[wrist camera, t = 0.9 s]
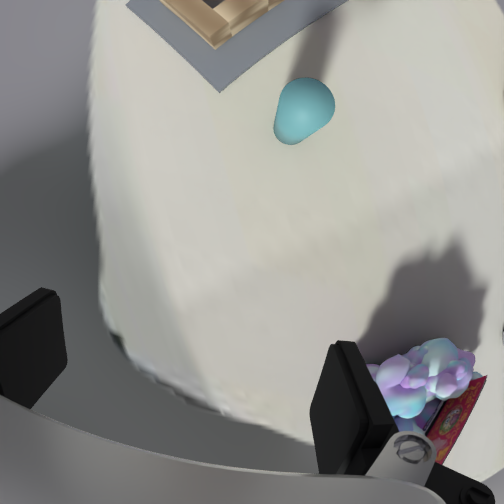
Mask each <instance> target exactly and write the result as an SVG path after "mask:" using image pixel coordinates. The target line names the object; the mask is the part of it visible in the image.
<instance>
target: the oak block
mask: <svg viewBox="0 0 504 504" xmlns="http://www.w3.org/2000/svg"><path fill="white" fill-rule="evenodd" d="M283 1H284V0H225V1H223V2H222V3H220V4H219V5H218V6H216V7H215V8H213V9H212V8H211V7H210V6H208V5H207V4H206V3H205V2H203V1H202V0H160V2H161V3H162V4H163V5H164V6H166V7H167V8H168V9H169V10H171V11H172V12H173V13H174V14H175V15H177V16H178V17H179V18H180V19H181V20H182V21H184V22H185V23H186V24H187V25H188V26H189V27H190V28H192V29H193V30H194V31H195V32H196V33H197V34H198V35H200V36H201V37H202V38H203V39H204V40H205V41H206V42H207V43H208V44H209V45H211V46H212V47H213V48H214V49H215V50H216V49H217V48H219V47H220V46H221V45H222V44H224V43H225V42H226V41H227V40H229V39H230V38H231V37H233V36H234V35H235V34H237V33H238V32H239V31H241V30H242V29H243V28H245V27H246V26H248V25H249V24H250V23H252V22H253V21H255V20H256V19H257V18H259V17H260V16H262V15H263V14H265V13H266V12H268V11H269V10H271V9H272V8H274V7H275V6H277V5H278V4H280V3H281V2H283Z"/></svg>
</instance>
